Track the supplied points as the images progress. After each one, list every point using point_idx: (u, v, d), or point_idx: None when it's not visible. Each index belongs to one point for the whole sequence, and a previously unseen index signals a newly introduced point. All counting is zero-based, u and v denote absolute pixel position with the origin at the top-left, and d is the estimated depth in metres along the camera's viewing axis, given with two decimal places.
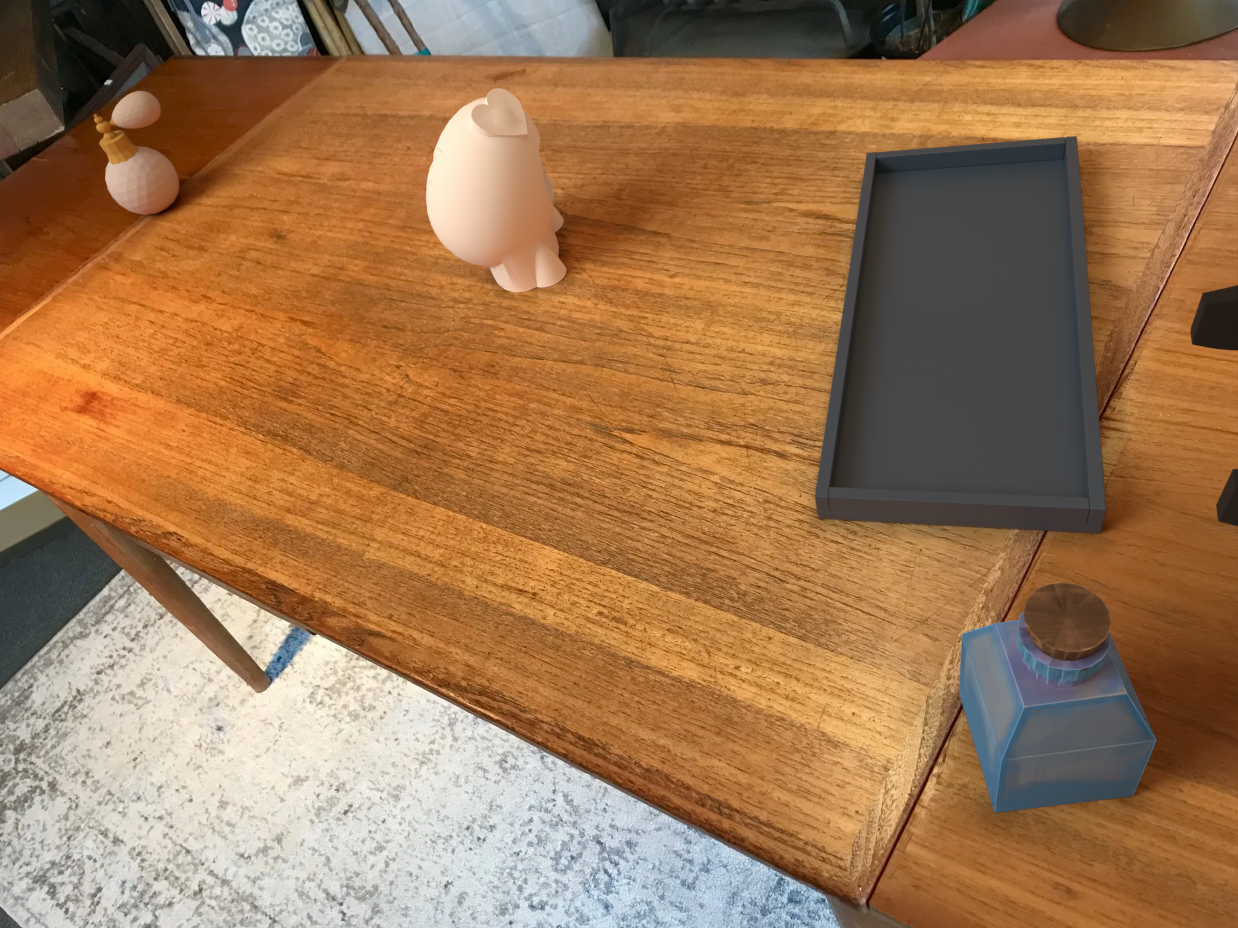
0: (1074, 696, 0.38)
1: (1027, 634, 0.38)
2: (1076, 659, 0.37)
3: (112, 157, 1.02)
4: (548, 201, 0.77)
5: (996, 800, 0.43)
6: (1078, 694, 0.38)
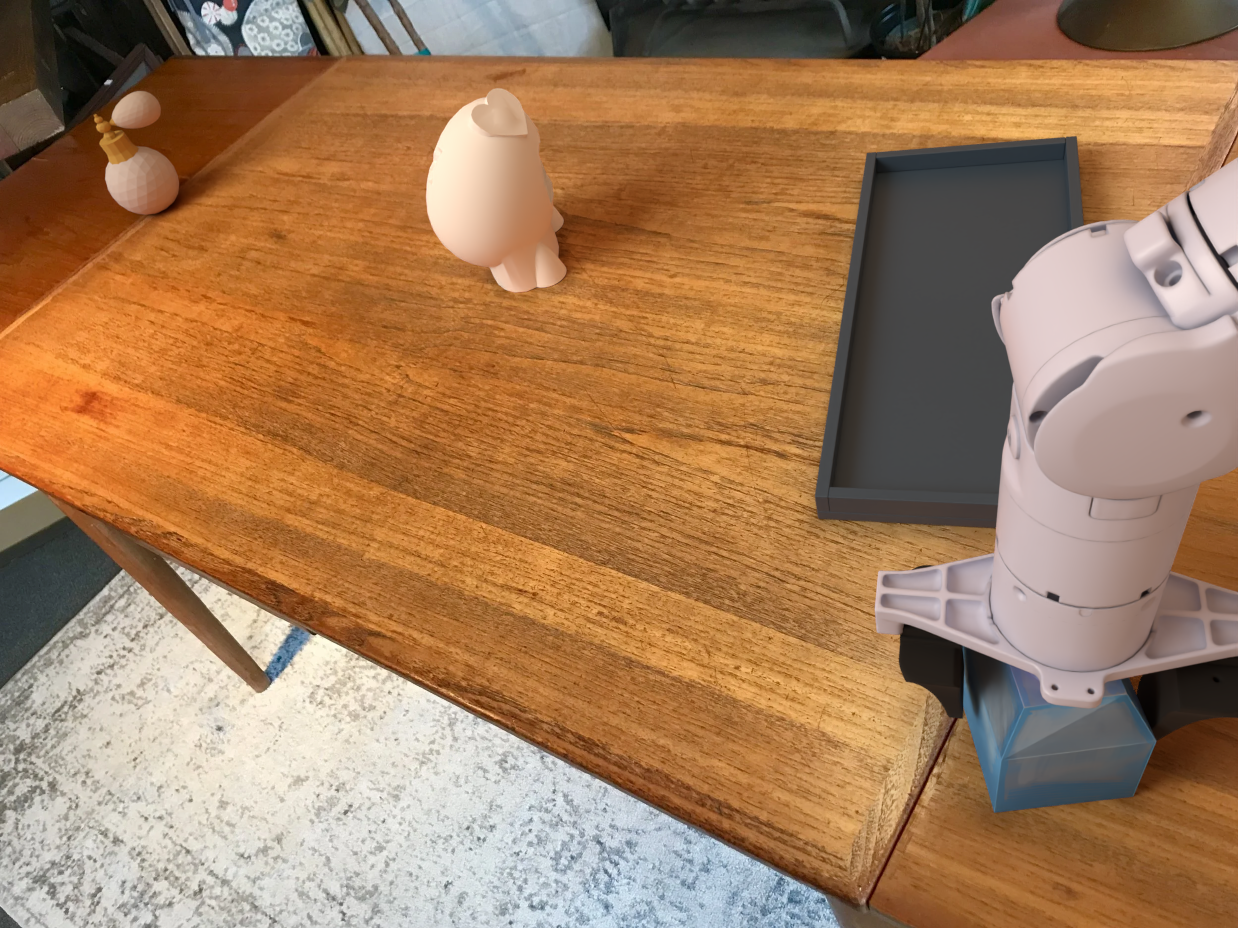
0: None
1: None
2: None
3: (112, 157, 1.02)
4: (548, 201, 0.77)
5: (996, 800, 0.43)
6: None
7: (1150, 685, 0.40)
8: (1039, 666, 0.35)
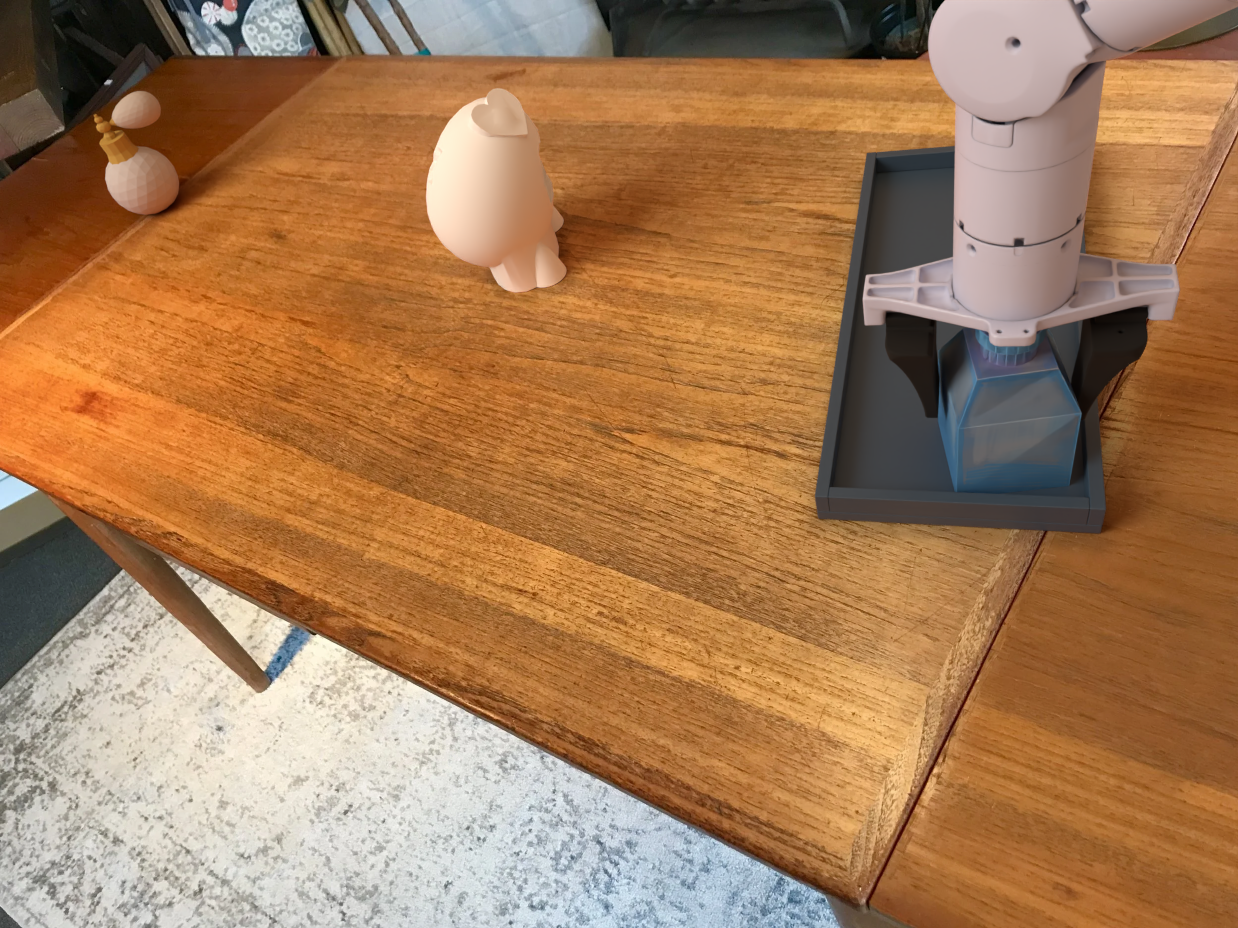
0: (1016, 371, 0.49)
1: None
2: None
3: (112, 157, 1.02)
4: (548, 201, 0.77)
5: (957, 482, 0.54)
6: (1020, 370, 0.49)
7: (1078, 369, 0.51)
8: (988, 320, 0.46)
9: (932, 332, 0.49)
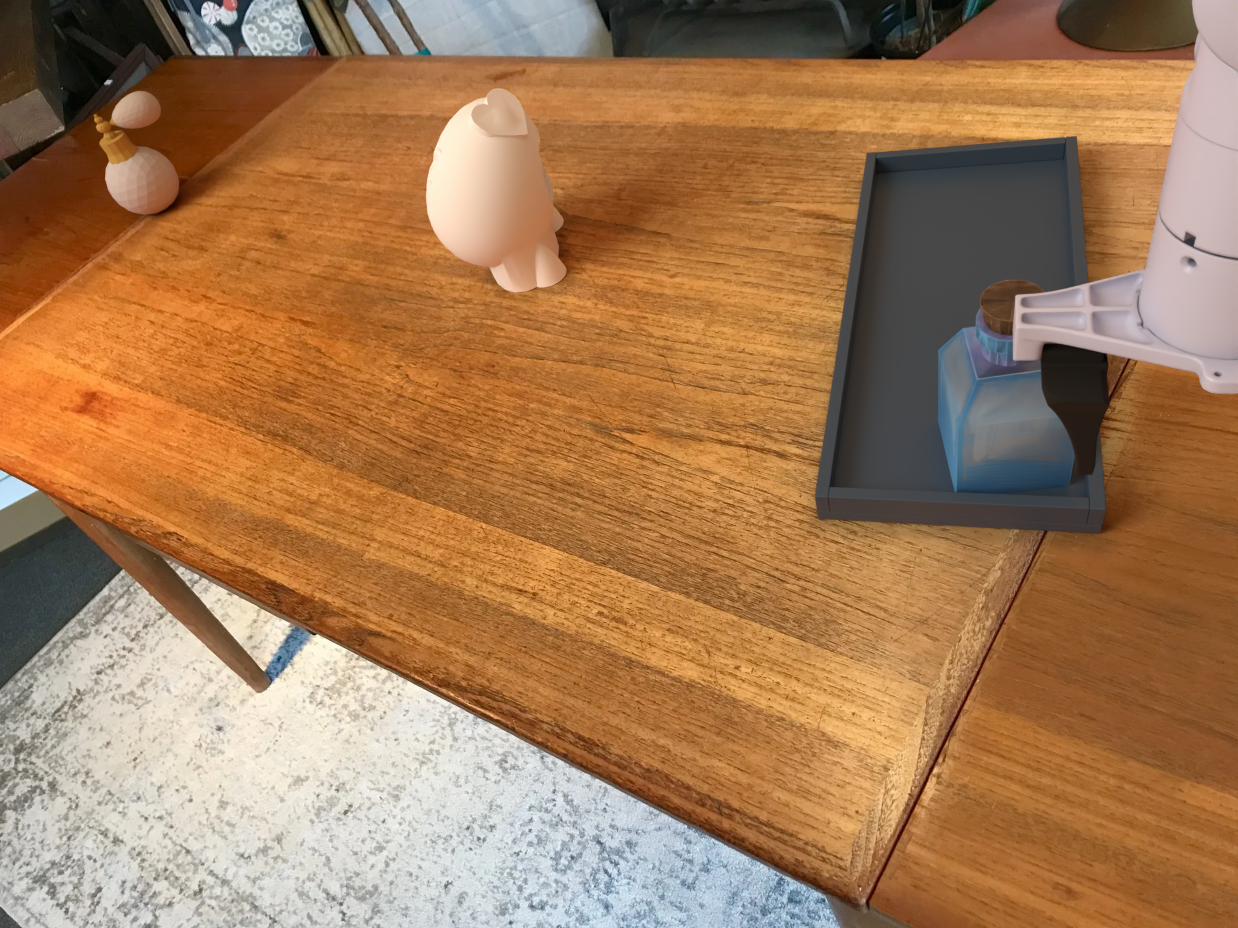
0: (1017, 371, 0.49)
1: (983, 320, 0.49)
2: None
3: (112, 157, 1.02)
4: (548, 201, 0.77)
5: (957, 482, 0.54)
6: (1020, 370, 0.49)
7: None
8: (1199, 358, 0.34)
9: (1105, 370, 0.38)
